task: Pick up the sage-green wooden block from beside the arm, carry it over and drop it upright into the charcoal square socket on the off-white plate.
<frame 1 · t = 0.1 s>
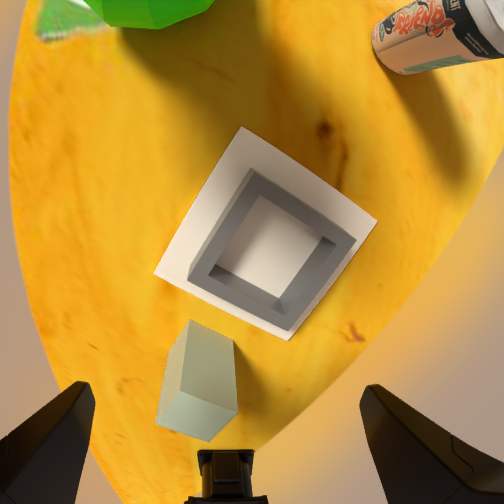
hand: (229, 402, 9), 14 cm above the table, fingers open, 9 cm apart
sage block: (200, 346, 25), on the table
beer can: (394, 47, 18), on the table
socket: (267, 244, 23), on the table
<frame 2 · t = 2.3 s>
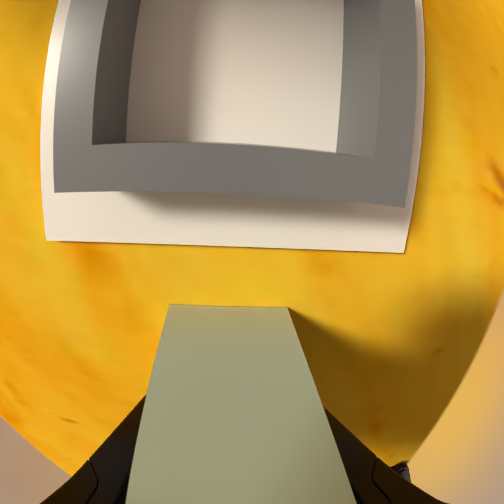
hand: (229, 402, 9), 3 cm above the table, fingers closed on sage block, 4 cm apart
sage block: (226, 352, 11), on the table, touching gripper
socket: (238, 45, 8), on the table
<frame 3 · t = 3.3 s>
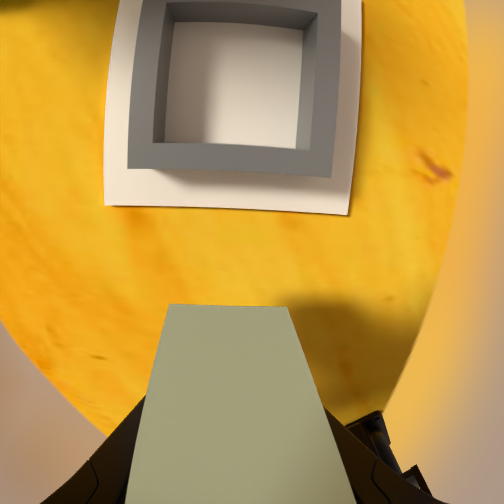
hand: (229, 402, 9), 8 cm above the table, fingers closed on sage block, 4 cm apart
sage block: (226, 352, 11), point 6 cm above the table, touching gripper
socket: (234, 81, 13), on the table
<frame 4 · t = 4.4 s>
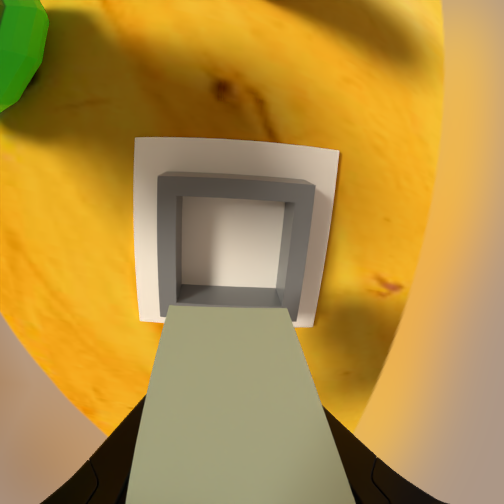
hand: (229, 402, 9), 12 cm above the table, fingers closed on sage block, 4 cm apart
sage block: (226, 353, 11), point 9 cm above the table, touching gripper
socket: (231, 239, 19), on the table
plastic bottle: (15, 61, 14), on the table
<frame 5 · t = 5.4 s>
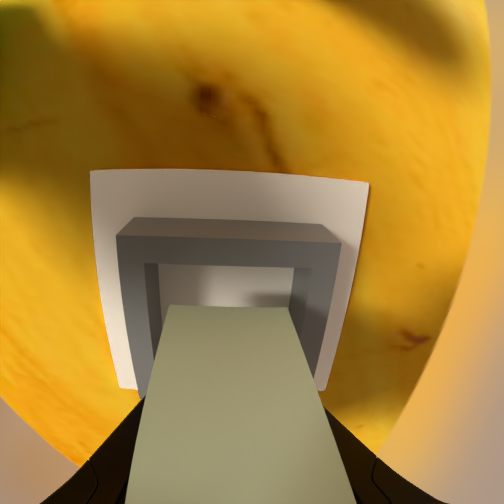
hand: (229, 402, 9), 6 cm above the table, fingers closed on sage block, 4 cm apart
sage block: (226, 352, 11), point 4 cm above the table, touching gripper
socket: (224, 300, 15), on the table
when the fingers open (4 cm above the table, at t = 6.5 s): sage block drops 2 cm, resting on socket.
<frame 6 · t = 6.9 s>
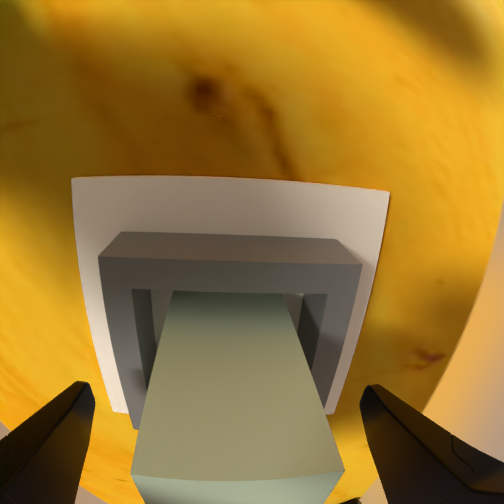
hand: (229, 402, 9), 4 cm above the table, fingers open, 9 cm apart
sage block: (226, 329, 13), resting on socket
socket: (225, 323, 13), on the table
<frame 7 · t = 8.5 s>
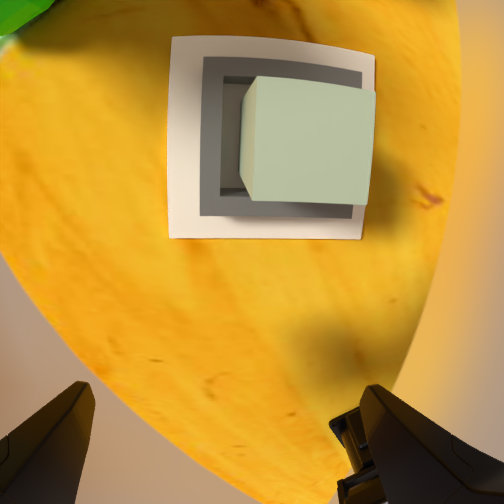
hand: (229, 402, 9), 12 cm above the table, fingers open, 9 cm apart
sage block: (275, 137, 17), resting on socket
socket: (273, 137, 17), on the table
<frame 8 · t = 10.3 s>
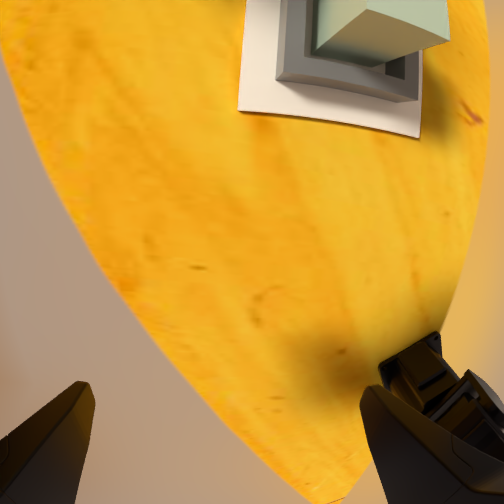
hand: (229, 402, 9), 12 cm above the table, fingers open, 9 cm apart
sage block: (343, 33, 15), resting on socket
socket: (340, 34, 16), on the table
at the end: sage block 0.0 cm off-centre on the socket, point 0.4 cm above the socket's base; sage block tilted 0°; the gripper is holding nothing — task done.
